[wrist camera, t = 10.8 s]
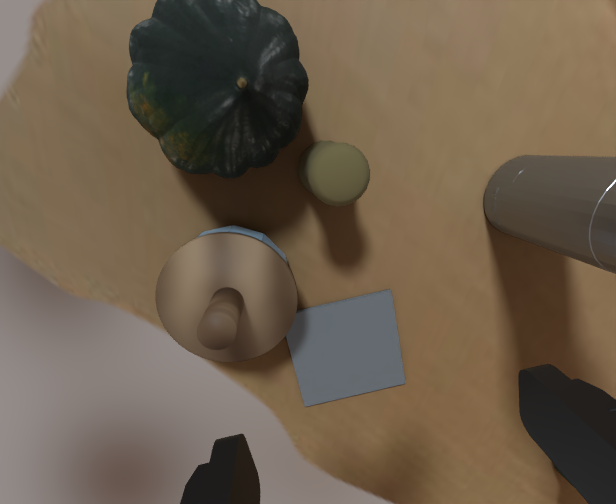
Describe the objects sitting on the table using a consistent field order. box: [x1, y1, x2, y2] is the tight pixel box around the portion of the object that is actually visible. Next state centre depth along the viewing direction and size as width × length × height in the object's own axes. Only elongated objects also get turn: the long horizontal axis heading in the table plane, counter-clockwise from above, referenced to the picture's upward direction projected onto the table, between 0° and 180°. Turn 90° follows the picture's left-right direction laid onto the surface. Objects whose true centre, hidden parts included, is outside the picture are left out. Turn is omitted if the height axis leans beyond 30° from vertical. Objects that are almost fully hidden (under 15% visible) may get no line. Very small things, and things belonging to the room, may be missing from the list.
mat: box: [286, 289, 406, 407], centre depth 43 cm, size 14×14×1 cm
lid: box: [156, 232, 297, 362], centre depth 31 cm, size 14×14×7 cm
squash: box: [127, 0, 308, 178], centre depth 28 cm, size 14×15×15 cm
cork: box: [298, 141, 370, 206], centre depth 31 cm, size 6×6×11 cm
